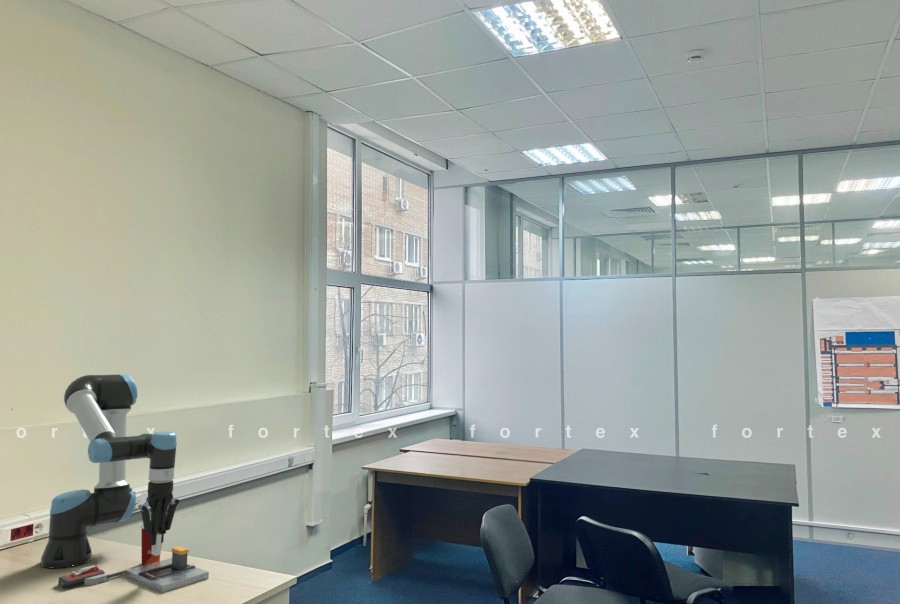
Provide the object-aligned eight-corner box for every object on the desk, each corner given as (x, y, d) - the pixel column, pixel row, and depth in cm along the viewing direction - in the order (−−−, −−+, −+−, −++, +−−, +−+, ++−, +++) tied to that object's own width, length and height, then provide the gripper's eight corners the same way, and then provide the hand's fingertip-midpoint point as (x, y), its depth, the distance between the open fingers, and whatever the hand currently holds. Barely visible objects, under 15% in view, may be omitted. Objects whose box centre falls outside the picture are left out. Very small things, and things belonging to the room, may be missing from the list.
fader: (170, 566, 207) (171, 547, 208) (178, 564, 210) (179, 545, 210) (179, 569, 204) (180, 551, 205) (187, 567, 206) (188, 549, 207)
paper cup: (152, 568, 212) (155, 525, 213) (133, 565, 213) (135, 524, 214) (167, 560, 219) (170, 520, 221) (148, 558, 221) (151, 518, 222)
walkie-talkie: (65, 593, 189) (131, 575, 205) (66, 578, 189) (131, 562, 206) (52, 587, 194) (117, 570, 210) (53, 572, 194) (118, 556, 211)
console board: (125, 576, 203) (125, 568, 203) (171, 563, 216) (171, 556, 216) (161, 592, 190) (162, 583, 191) (208, 578, 203) (208, 569, 204)
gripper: (147, 485, 195) (142, 562, 194) (186, 479, 206) (180, 551, 204) (135, 481, 200) (129, 556, 198) (173, 475, 210) (168, 546, 209)
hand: (155, 554), depth 201 cm, fingers closed
